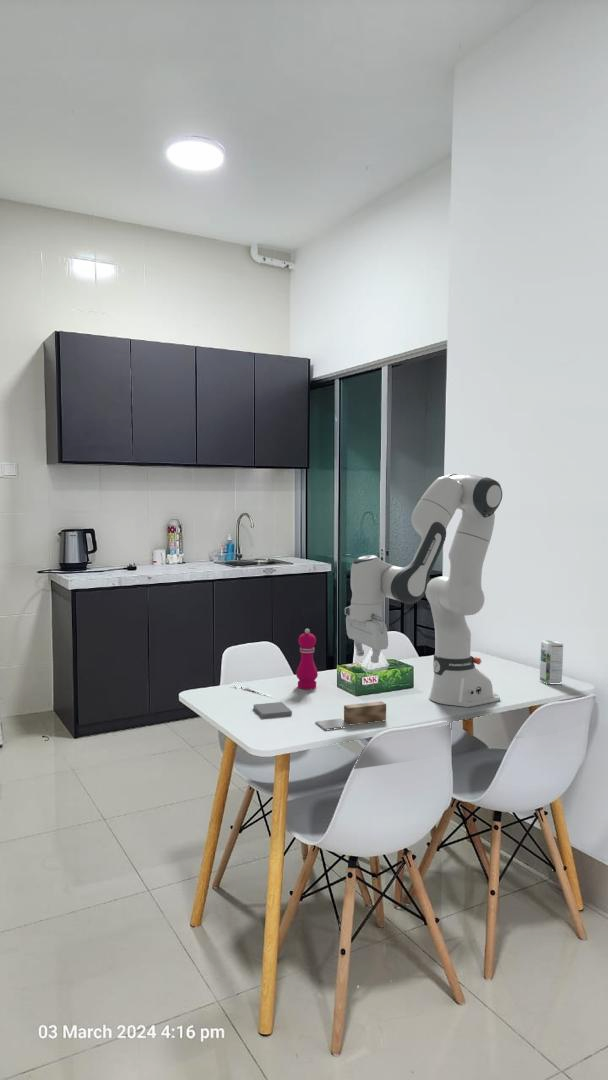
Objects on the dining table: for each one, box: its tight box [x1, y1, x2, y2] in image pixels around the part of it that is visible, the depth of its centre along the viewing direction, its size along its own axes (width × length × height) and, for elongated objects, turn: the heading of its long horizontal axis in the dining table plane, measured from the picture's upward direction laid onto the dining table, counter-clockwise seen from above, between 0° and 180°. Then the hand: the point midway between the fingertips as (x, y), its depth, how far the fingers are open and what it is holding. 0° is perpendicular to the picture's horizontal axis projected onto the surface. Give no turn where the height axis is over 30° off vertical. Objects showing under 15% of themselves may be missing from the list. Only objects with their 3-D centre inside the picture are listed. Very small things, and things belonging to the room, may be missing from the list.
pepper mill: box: [296, 628, 319, 690], centre depth 248 cm, size 7×7×20 cm
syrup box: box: [539, 639, 564, 684], centre depth 255 cm, size 6×6×14 cm
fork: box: [231, 680, 271, 697], centre depth 242 cm, size 3×20×2 cm, turn 45°
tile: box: [253, 701, 293, 719], centre depth 220 cm, size 2×10×9 cm
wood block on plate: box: [314, 700, 387, 731], centre depth 209 cm, size 20×7×5 cm, turn 112°
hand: (367, 659), depth 213 cm, fingers open, 8 cm apart
